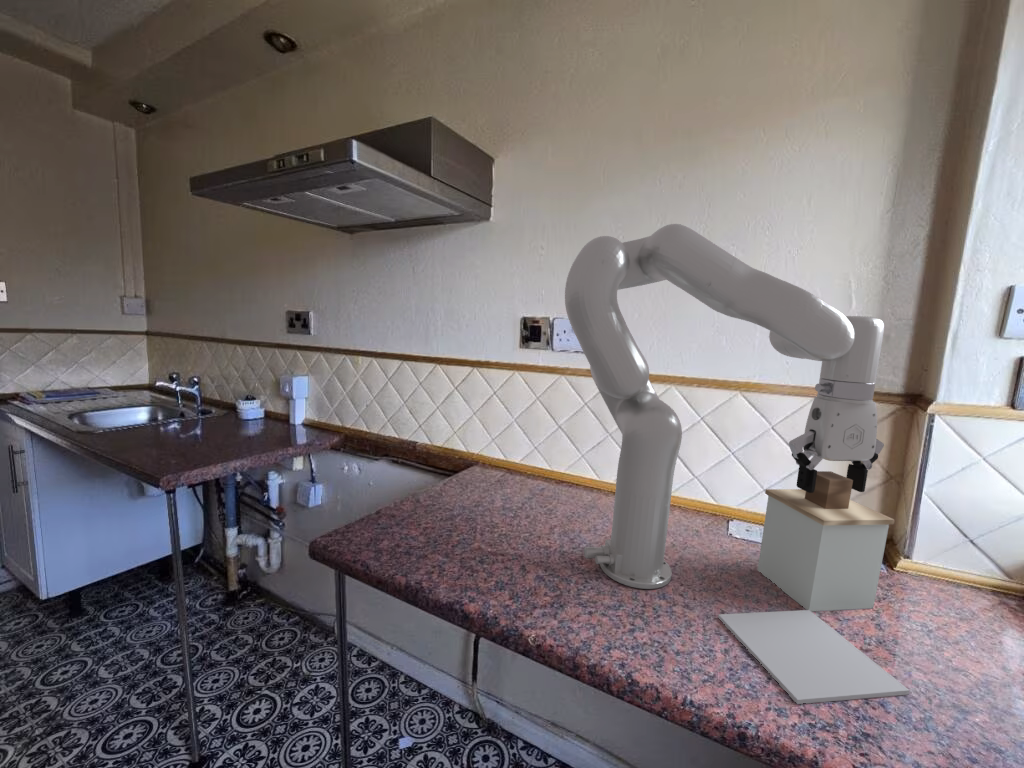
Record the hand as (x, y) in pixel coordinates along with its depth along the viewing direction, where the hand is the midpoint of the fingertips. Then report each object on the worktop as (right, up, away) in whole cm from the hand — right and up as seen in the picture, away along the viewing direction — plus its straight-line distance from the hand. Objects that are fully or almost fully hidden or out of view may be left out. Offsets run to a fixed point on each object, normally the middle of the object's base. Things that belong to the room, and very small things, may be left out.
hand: (829, 489), depth 78 cm
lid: (-1, -4, +1) cm, 4 cm away
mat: (-13, -20, -14) cm, 28 cm away
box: (-1, -18, +3) cm, 18 cm away
